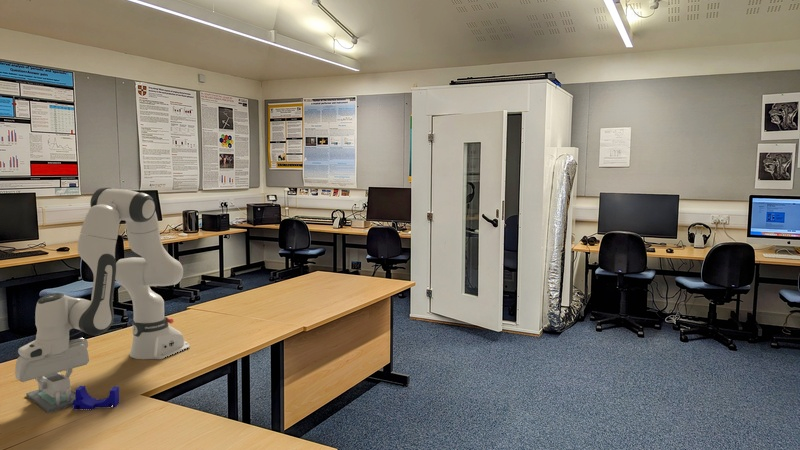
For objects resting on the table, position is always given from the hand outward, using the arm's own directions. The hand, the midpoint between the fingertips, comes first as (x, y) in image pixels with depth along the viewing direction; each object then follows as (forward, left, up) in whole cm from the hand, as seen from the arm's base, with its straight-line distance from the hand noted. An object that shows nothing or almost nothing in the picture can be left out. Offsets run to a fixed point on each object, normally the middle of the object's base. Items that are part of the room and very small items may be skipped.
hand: (54, 385), depth 170 cm
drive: (0, 0, -2) cm, 2 cm away
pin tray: (0, 0, -5) cm, 5 cm away
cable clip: (-6, +14, -5) cm, 17 cm away
